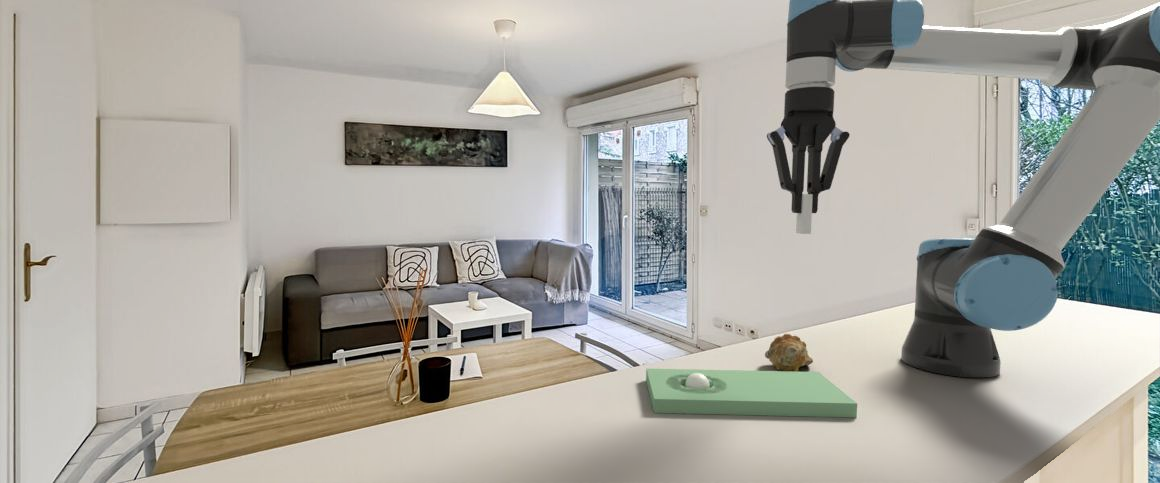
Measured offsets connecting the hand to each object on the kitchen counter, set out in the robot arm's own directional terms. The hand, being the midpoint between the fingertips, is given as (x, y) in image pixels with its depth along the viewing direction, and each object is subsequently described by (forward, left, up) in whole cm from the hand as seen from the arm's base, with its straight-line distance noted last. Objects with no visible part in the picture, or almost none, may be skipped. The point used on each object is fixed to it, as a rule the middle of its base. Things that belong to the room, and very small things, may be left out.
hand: (803, 233), depth 95 cm
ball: (+19, +11, -23) cm, 31 cm away
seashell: (0, -4, -25) cm, 25 cm away
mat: (+12, +11, -24) cm, 29 cm away
